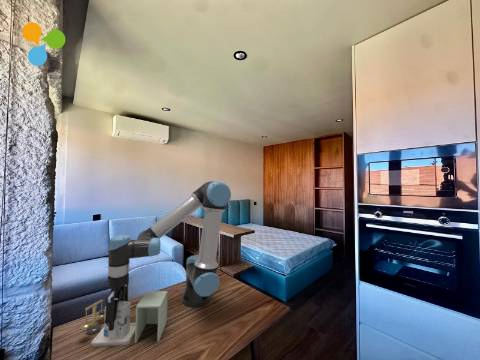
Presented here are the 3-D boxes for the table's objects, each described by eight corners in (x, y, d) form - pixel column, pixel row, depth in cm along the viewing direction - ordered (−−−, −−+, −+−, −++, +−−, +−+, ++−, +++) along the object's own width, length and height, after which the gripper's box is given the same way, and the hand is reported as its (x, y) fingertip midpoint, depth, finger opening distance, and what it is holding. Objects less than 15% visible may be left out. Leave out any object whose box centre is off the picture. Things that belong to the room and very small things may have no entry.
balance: (88, 343, 79) (89, 311, 79) (75, 343, 78) (76, 311, 79) (109, 318, 93) (110, 291, 93) (98, 319, 93) (99, 291, 93)
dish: (138, 326, 89) (139, 322, 89) (127, 345, 79) (127, 341, 79) (106, 327, 88) (106, 323, 88) (90, 346, 77) (91, 342, 78)
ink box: (102, 336, 82) (103, 306, 82) (112, 327, 87) (113, 299, 87) (122, 339, 80) (123, 309, 81) (130, 330, 85) (131, 301, 86)
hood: (166, 322, 92) (167, 291, 92) (158, 341, 81) (159, 306, 81) (145, 323, 91) (146, 291, 91) (134, 342, 80) (136, 306, 80)
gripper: (121, 264, 93) (119, 315, 93) (94, 285, 74) (92, 350, 73) (137, 264, 93) (136, 315, 93) (115, 285, 74) (113, 349, 74)
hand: (116, 330), depth 83 cm, fingers open, 6 cm apart
